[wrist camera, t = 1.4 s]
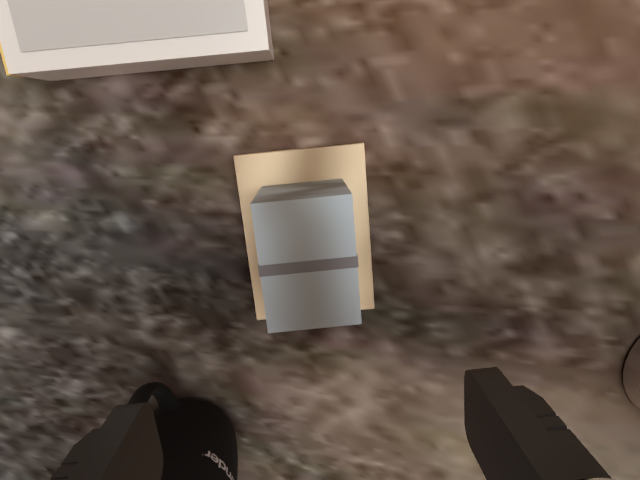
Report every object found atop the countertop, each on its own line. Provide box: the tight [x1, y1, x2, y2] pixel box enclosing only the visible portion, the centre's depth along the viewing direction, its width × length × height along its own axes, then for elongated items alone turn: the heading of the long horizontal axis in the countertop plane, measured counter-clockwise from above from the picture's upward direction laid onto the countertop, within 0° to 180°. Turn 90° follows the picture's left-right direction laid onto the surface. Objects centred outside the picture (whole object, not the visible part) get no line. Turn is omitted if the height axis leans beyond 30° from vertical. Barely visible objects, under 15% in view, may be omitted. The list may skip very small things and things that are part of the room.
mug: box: [128, 382, 238, 480], centre depth 29 cm, size 12×9×10 cm
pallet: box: [234, 143, 374, 333], centre depth 26 cm, size 8×11×8 cm
